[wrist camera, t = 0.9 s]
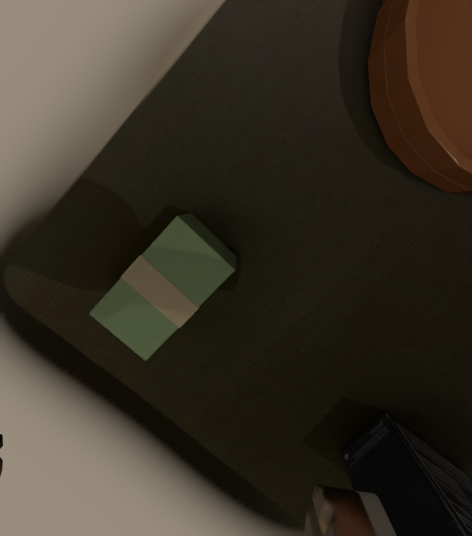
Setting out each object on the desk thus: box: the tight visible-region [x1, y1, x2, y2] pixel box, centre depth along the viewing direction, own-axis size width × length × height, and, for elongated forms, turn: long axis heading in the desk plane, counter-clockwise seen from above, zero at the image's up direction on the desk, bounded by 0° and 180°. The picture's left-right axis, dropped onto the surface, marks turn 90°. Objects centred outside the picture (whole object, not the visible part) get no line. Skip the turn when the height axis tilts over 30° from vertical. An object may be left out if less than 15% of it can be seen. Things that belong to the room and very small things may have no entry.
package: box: [89, 213, 236, 361], centre depth 22 cm, size 5×9×5 cm, turn 136°
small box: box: [341, 412, 472, 536], centre depth 23 cm, size 11×6×10 cm, turn 52°
